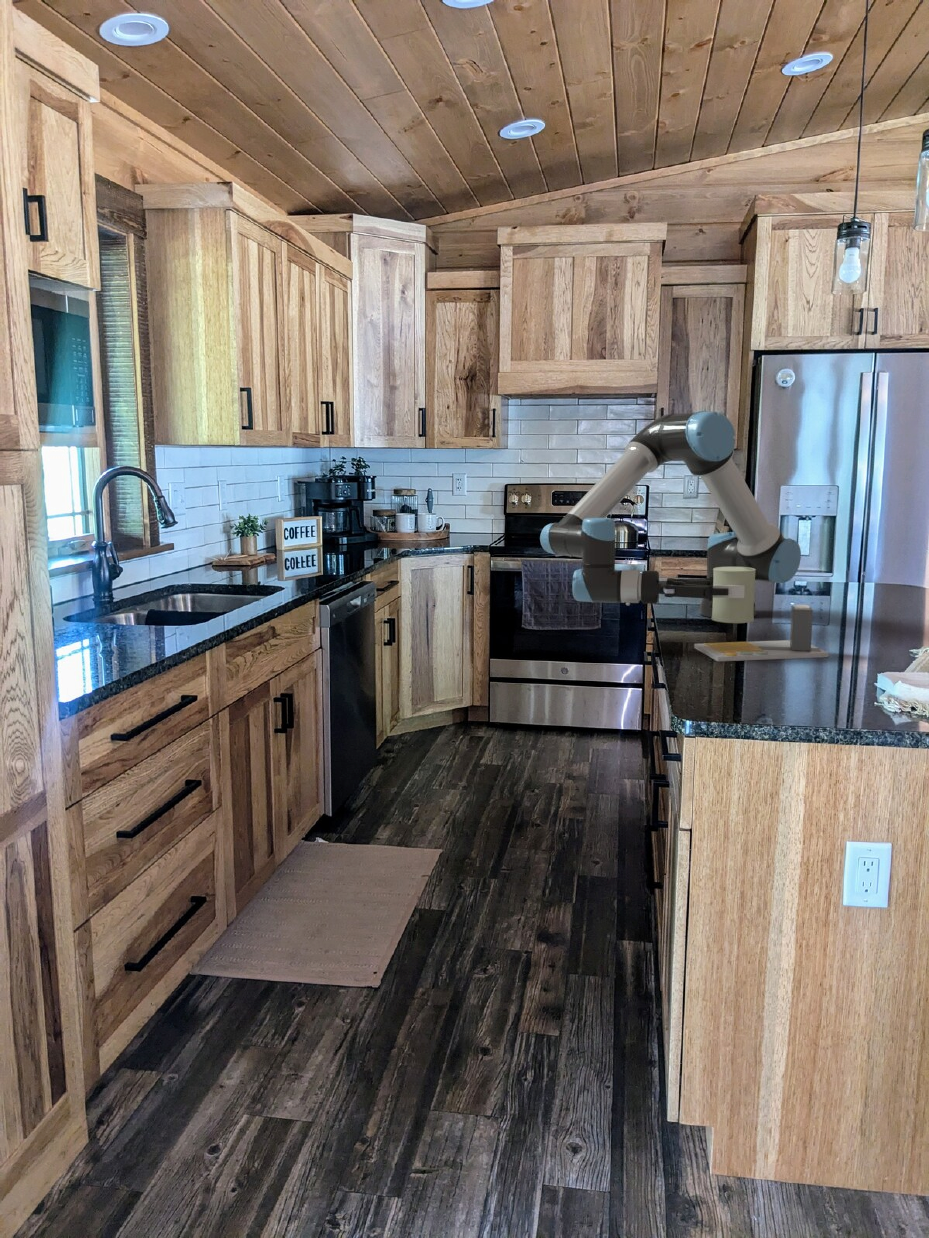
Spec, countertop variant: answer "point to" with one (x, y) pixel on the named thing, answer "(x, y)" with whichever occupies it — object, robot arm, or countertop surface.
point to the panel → (756, 651)
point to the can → (734, 607)
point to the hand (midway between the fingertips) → (743, 589)
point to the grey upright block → (801, 627)
